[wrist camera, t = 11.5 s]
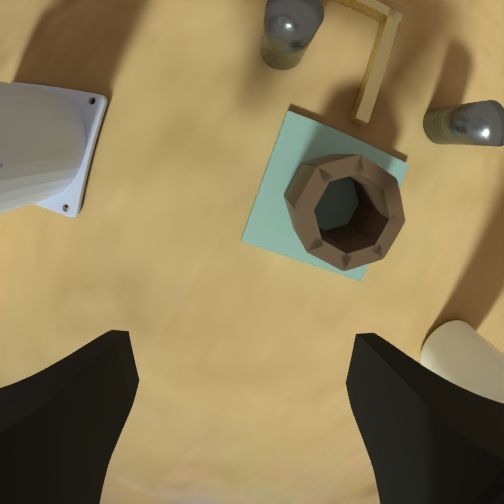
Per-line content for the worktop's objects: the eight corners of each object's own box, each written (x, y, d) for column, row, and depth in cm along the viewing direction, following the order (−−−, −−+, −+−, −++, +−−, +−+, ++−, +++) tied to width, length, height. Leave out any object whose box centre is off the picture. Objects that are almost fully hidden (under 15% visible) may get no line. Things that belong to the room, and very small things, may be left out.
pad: (241, 238, 19) (240, 241, 19) (286, 111, 17) (287, 110, 16) (358, 278, 20) (360, 281, 19) (404, 163, 18) (408, 164, 17)
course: (242, 79, 16) (239, 46, 10) (313, -76, 12) (328, -124, 6) (440, 167, 18) (499, 177, 12) (474, 8, 14) (520, -13, 8)
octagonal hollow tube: (299, 251, 19) (314, 281, 14) (275, 170, 17) (284, 175, 13) (376, 228, 18) (409, 249, 14) (357, 148, 17) (389, 147, 13)
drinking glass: (464, 292, 20) (592, 408, 6) (480, 343, 22) (573, 450, 8) (397, 345, 22) (493, 501, 7) (422, 389, 23) (495, 517, 9)
